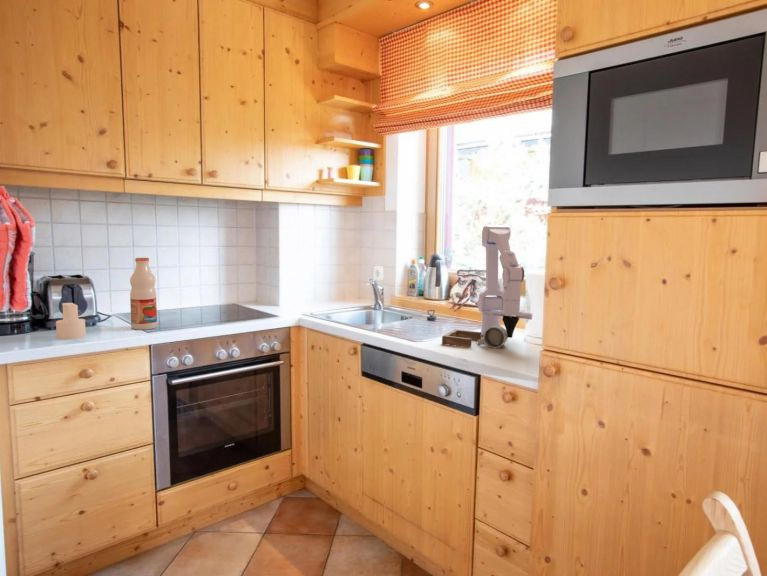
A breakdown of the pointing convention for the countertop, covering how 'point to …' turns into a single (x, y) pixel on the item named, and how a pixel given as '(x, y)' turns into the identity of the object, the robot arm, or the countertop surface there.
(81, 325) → the base with upright slab
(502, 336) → the ceramic mug
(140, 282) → the fruit juice
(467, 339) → the brown wooden tray
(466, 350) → the countertop surface
